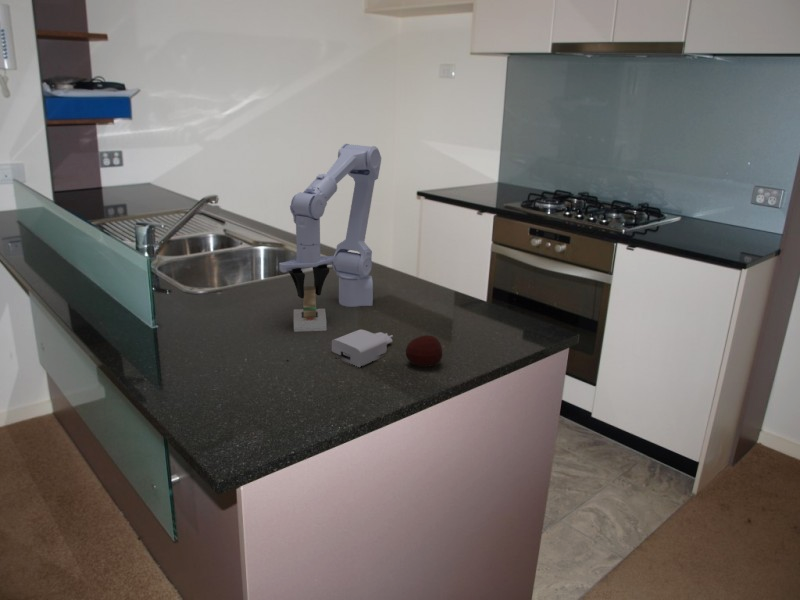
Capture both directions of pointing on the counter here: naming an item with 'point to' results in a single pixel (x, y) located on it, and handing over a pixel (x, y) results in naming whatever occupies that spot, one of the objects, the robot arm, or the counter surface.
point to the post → (309, 302)
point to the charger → (361, 346)
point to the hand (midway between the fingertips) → (309, 295)
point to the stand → (309, 321)
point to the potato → (424, 351)
